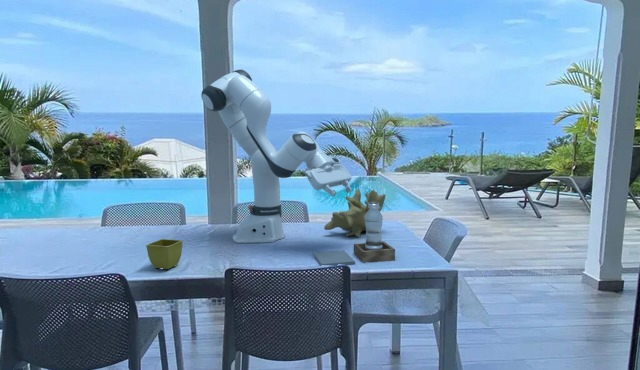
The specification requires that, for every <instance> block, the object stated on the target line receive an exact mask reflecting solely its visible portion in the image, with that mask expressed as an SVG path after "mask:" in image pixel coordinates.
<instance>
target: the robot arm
mask: <svg viewBox="0 0 640 370" xmlns="http://www.w3.org/2000/svg"><path fill="white" fill-rule="evenodd" d="M201 100H202V102H203V104H204V105H205V107H206V108H207V109H208V110H209V111H211V112H215V113H217V112H218V114H219V117H220V118H221V121H222V122H223V124H224V126H225V127H226V128H227V129H228V131H229V132H230V134H231V135H232V137H233V138H234V140H235V141H236V142H237V144H238V146H239V147H241V149H242V150H243V151H244V152H245V153H246V154H247V155H248V156H249V158H250V159H251V161H250V162H251V173H252V181H253V182H252V184H253V194H254V195H253V198H254V199H253V200H254V204H253V205H251V204H250V205H248V210H249V215H248V216H246V217H245V218H244V219H243V220H242V221H240V223H239V224H238V227H237V231H236V233H234V234H233V235H232V241H233V242H234V243H237V244H238V243H239V244H242V243H243V244H247V243H248V244H249V243H273V242H276V241H278V240H281V239H283V238H285V237H286V233H285V232H284V228H283V223H282V215H283V212H282V211H283V210H282V209H283V208H282V204H281V188H280V187H281V186H280V179H288V178H291V177H292V176H293V175H294V173H295V172H296V170H298V168H299V167H300V166H301V165H302V163H305V165H306V168H305V170H304V173H305V175H306V178H307V180H308V182H309V183H310V185H311V186H312V188H313V189H314V190H316V191H319V190H320V191H321V190H323V191H324V192H326V193H328V194H329V195H330V197H335V196H336V195H337V191H336V190H335V189H332V188H333V187H337V186H341V185H342V187H344V191H345V192H346V194H348V193H349V194H350V193H351V192H352V191H353V189H352V188H351V186H350V181H351V180H352V179H353V178H352V177H353V176H352V175H351V173H350V172H349V171H348V169H347V167H345V165H343V164H341V162H342V161H341V159H339V158H338V157H337V158H336V157H332V156H330V155H327V153H326V152H325V151H323V150H322V149H321V146H320V145H319V143H317V142H318V141H316V140H315V139H314V138H313V137H312V136H311V135H310V134H309V133H308V132H306V131H298V132H296V133H293V134H292V135H291V136H290V137H289V138H288V139H287V140H286V141H285V142H284V144H283V145H282V146H281V147H280V149H279V150H277V149H276V147H275V146H274V145H273V144H272V142H271V141H270V140H269V139H268V137H267V132H266V131H267V130H266V129H267V125H268V121H269V119H270V116H271V114H272V113H271V112H272V103H271V100H270V98H269V97H268V96H267V94H266V93H265V92H264V91H263V89H261V88H260V87H259V86H258V85H257V84H256V83H255V82H254V81H253V79H252V76H251V75H250V74H249V73H248V72H247V71H246V70H244V69H235V70H233V71H232V72H230V73H227V74H225V75H223V76H221V77H220V78H219V79H216V80H215V81H214V82H212V83H211V84H209V85H206V86H205V87H204V88H203V89H202V90H201Z"/></svg>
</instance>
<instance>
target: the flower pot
mask: <svg viewBox="0 0 640 370" xmlns="http://www.w3.org/2000/svg"><path fill="white" fill-rule="evenodd" d="M183 242H184V241H183V240H181V239H170V238H169V239H168V238H161V239H158V240H155V241H153V242H151V243H147V244H145V245H146V251H147V256H148V259H149V261H150V263H151V264H152V266H153V267H154V268H155V269H156V268H163V269H169V268H171V267H173V266H175V265H176V266H178V263H179V262H180V260H181V257H182V252H183V251H182V250H183ZM176 266H175V267H176ZM173 268H174V267H173ZM163 269H162V270H163ZM171 269H172V268H171ZM169 270H170V269H169Z"/></svg>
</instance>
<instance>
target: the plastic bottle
mask: <svg viewBox="0 0 640 370" xmlns="http://www.w3.org/2000/svg"><path fill="white" fill-rule="evenodd" d="M368 208H369V210H368V212H367V213H366V215H365V225H366V231H365V235H366V236H365V243H366V244H365V251H370V250H382V249H383V247H382V242H383V241H382V226H383V220H384V219H383V218H384V217H383V215H382V212H381V211H379V210H378V209H379V203H376V202H371V203H369V207H368Z"/></svg>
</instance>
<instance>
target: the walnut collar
mask: <svg viewBox="0 0 640 370" xmlns="http://www.w3.org/2000/svg"><path fill="white" fill-rule="evenodd" d="M365 244H366V242H360V243H353V255H354V256H355V257H356V258H357V259H358V260H359V261H360V262H361V263H362V262H363V263H362V264H366V262H369V263H376V262H377V263H378V261H380V262H389V261H390V262H391V261H396V249H395V248H394V247H392V245H390V244H388V243H387V242H385V241H382V247H383V249H382V250H370V251H365Z"/></svg>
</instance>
